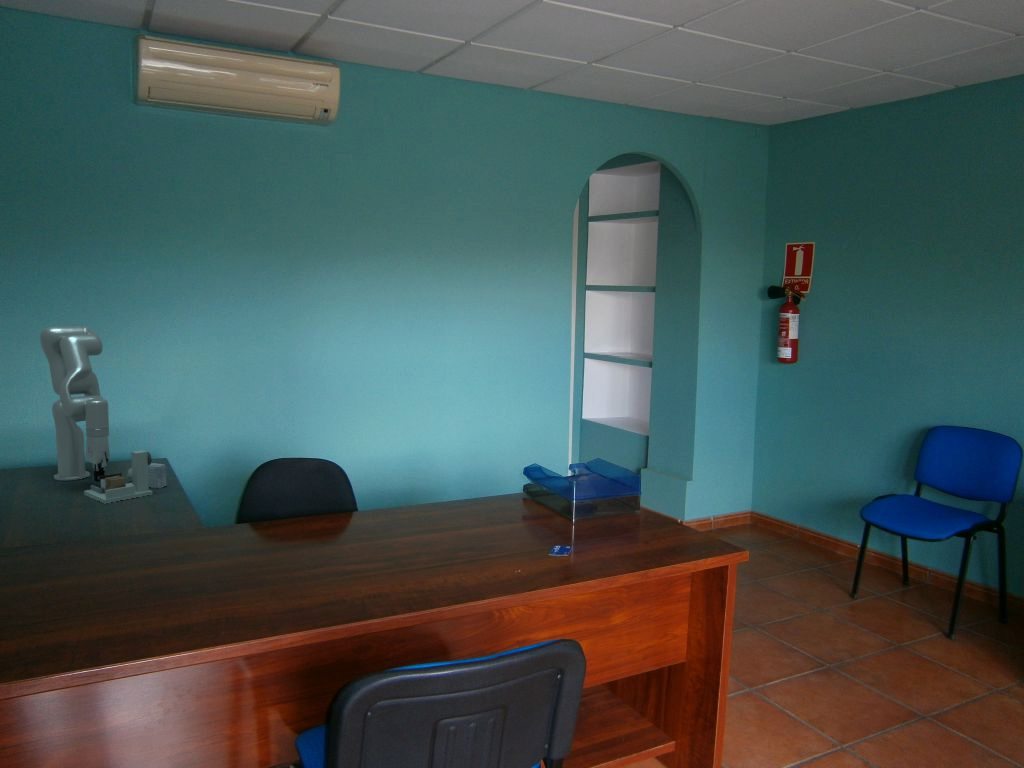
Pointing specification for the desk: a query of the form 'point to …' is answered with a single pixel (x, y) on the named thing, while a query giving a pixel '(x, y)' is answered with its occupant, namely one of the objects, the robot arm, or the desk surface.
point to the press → (132, 489)
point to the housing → (115, 482)
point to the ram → (107, 477)
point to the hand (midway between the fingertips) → (99, 480)
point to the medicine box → (156, 475)
